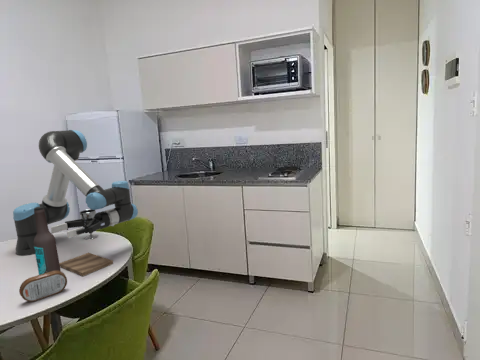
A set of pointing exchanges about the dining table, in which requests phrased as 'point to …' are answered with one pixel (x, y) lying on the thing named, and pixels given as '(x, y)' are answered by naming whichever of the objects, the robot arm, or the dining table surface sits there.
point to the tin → (43, 286)
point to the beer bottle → (45, 245)
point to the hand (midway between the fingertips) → (59, 232)
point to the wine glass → (89, 214)
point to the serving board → (86, 264)
